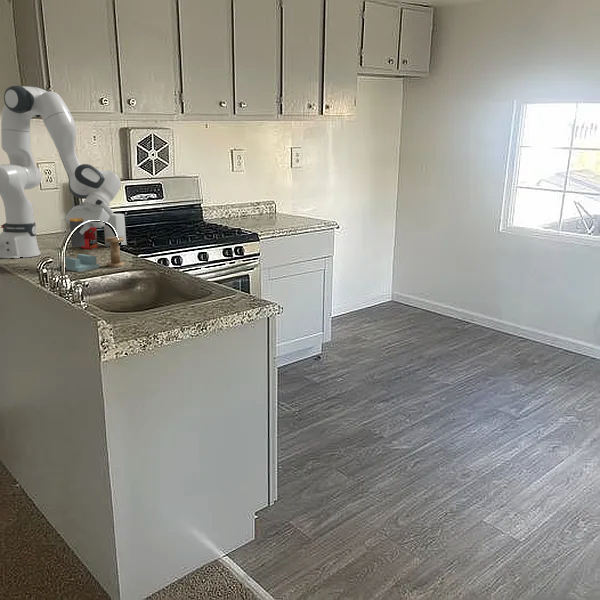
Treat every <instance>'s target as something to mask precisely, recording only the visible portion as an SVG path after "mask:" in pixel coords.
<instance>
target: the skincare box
mask: <svg viewBox="0 0 600 600" xmlns="http://www.w3.org/2000/svg"><path fill="white" fill-rule="evenodd" d="M125 219H126V218H125V214H124V213H113V214H112V215H111V216H110V218H109V219H108V221H107V222H108V223H110V224H111V225H112V226H113V227H114V228H115V230H116V231H117V234H118V236H119V237H123V238H124V241H122V242H121V245H126V246H127V236H126V235H127V233H126V221H125ZM103 230H104V245H106V246H105V247H109V246H110V242H106V239H105V238H107V237H115V235H114V233H113V231H112V229H111V228H110V227H109V226H107V225H104V226H103Z"/></svg>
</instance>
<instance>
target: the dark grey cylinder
mask: <svg viewBox="0 0 600 600" xmlns="http://www.w3.org/2000/svg"><path fill="white" fill-rule="evenodd" d="M82 222H83V219H81V218H73V219H70V224H69V227H70V228H69V232H70V231H71V232H72V231H73V229H74V228H75V227H76V226H78V225H79V224H80V223H82ZM82 227H83V226H81V227H80V228H82ZM80 228H79V229H80ZM79 229H78V230H79ZM78 230H77V231H76V232H75V233H74V235H73V236H72V238H71V237H70V240H71V241H70V243H71V247H74V248H75V247H76V248H81V247H82V246H85V241H84V234H83V235H82V234H79V233H78ZM71 232H70V233H71Z"/></svg>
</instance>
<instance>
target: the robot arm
mask: <svg viewBox="0 0 600 600" xmlns="http://www.w3.org/2000/svg"><path fill="white" fill-rule="evenodd" d="M3 101H4V102H3V103H4V104H5V105H4V106H3V108H2V113H1V122H0V123H1V124H0V129H1V133H0V135H1V136H0V137H1V149H2V150H3V151H4V152H5V154H6V155H7V158H8V161H9V163H6V164H5V163H3V164H0V198H1V200H2V203H3V206H4V213H5V222H4V223H3V224H1V225H0V229H2V232H0V259H10V258H15V259H21V258H20V257H23V258H31V257H38V256H40V255H41V251H40V248H39V244H38V240H37V226H36V222H35V217H34V206H33V203H32V202H31V201H30V200H29V199H28V197H27V196H26V192H25V190H31V189H34V188H36V187H38V186H39V185H40V184H41V183H42V181H43V180H42V179H43V175H42V172H41V170H40V169H39V168H38V166H37V165H36V162H35V160H34V157H33V154H32V144H31V120H32V119H33V117H37V118H41V119H42V121H43V123H44V127H45V128H46V130H47V132H48V134H49V135H50V138H51V139H52V141H53V144H54V146H55V148H56V151H57V152H58V155H59V158H60V160H61V163H62V166H63V167H64V170H65V172H66V174H67V178H68V189H69V191H70V192H69V193H71V195H72V196H74V197H75V198H78V199H81V200H83V202H82V204H78V205H75V206H73V207H72V208H71V209H70V210H69V212H67V214H66V215H65V216H64V220H65V221H66V222H67V223H68V224H69V225H70V219H73V218H81V219H83V222H84V221H87V220H100V221H104V222H107V221H108V219H109V218H110V216H111V215H112V214H114V211H113V209H112V208H111V207H110V203H111V202H112V201H113V200H114V199H115V198H116V196H117V195H118V192H119V191H120V190H121V187H122V181H121V178H120V177H119V176H118V174H117V173H115V172H114V171H112V170H103V169H99V168H97V167H94V166H93V165H91V164H87V163H83V164H81V163H80V160H79V159H78V155H77V152H76V138H77V137H76V136H77V127H76V122H75V120H74V117H73V115H72V113H71V111H70V109H69V107H68V106H67V104H66V103H65V101H64V100H63V98H62V96H61V95H59V94H58V93H57V92H56V91H50V90H48V89H46V88H42V87H41V88H40V87H36V86H30V85H29V86H28V85H27V86H26V85H25V86H24V85H11V86H9V87H7V88H6V90H5V91H4V93H3ZM104 225H105V223H103V222H89V223H87V224H84V225H83V227H82V228H80V229H79V230H78V233H79V234H82V235H83V234H84V232H85V231H87V230H88V229H90V227H96V228H97V229H102V228H104ZM69 232H70V233H71V231H70V230H69Z"/></svg>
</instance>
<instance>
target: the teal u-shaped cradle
mask: <svg viewBox="0 0 600 600" xmlns="http://www.w3.org/2000/svg"><path fill="white" fill-rule="evenodd" d="M76 255H77V257H75V258H74V257H71V256H70V257H69V256H64V257H65V263H66V269H65V270H68V271H73V272H77V273H79V272H86V271H91V270H96V269H99V268H100V264H99V263H97V256H95V255H90V254H84V253H79V254H76ZM60 264H61V263H58V264H57V265H58V266H57V267H58V269H61V268H60Z"/></svg>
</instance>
